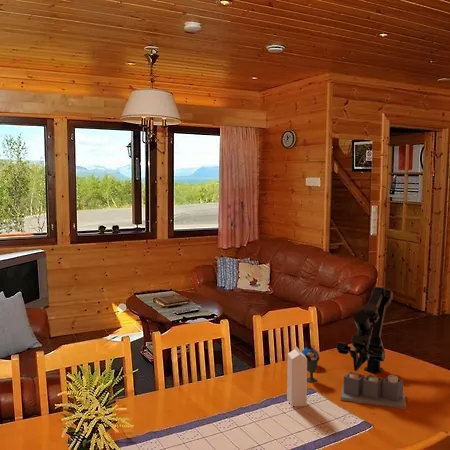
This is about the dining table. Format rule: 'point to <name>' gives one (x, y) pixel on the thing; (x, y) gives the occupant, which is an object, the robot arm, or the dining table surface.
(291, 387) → the milk
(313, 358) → the sundae
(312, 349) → the ornament
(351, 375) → the salmon orange ball
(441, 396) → the dining table surface
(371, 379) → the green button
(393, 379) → the white rounded dome
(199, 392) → the dining table surface
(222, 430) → the dining table surface
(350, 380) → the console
